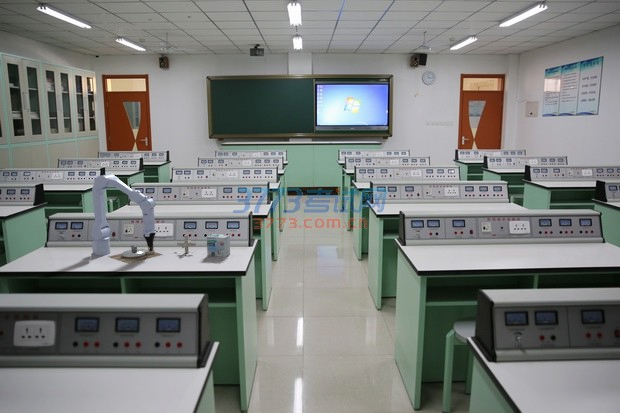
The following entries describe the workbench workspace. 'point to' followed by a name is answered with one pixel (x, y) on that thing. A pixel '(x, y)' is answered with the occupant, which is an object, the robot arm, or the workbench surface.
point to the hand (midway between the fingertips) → (150, 246)
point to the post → (134, 248)
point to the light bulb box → (218, 245)
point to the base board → (131, 260)
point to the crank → (138, 253)
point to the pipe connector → (186, 243)
